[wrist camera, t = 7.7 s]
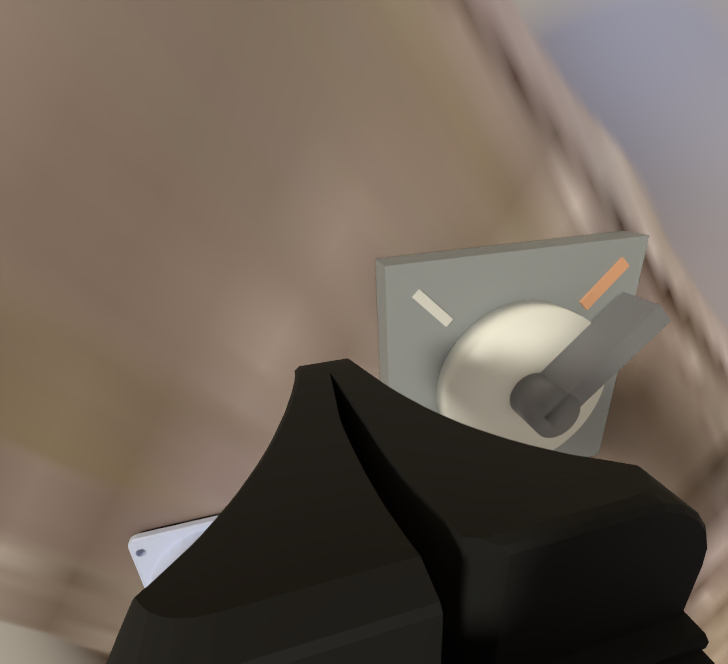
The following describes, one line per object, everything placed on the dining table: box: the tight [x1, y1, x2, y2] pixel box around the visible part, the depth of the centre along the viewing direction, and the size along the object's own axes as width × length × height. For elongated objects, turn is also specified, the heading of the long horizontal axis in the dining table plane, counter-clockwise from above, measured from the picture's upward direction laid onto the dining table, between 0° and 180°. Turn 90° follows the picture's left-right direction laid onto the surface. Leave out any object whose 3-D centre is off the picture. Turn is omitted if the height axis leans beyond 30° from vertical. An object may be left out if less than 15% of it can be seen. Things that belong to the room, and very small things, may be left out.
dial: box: [436, 292, 670, 450], centre depth 20 cm, size 11×9×4 cm
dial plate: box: [376, 231, 649, 457], centre depth 23 cm, size 14×14×2 cm
